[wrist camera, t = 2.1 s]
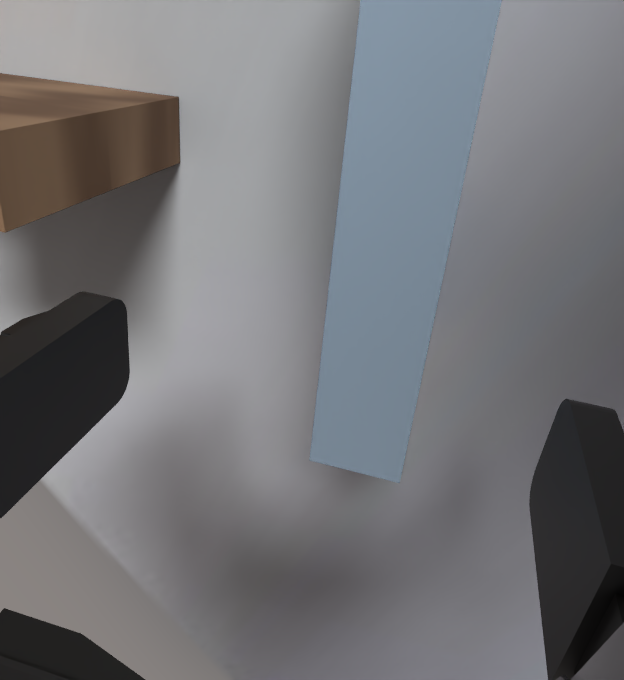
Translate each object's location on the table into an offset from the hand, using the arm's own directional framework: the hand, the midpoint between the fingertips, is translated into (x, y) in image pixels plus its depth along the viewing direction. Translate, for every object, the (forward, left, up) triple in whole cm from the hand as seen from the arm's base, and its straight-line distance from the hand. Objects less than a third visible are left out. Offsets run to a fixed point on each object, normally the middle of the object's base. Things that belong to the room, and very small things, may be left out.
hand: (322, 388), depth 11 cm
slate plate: (-1, -4, -9) cm, 10 cm away
